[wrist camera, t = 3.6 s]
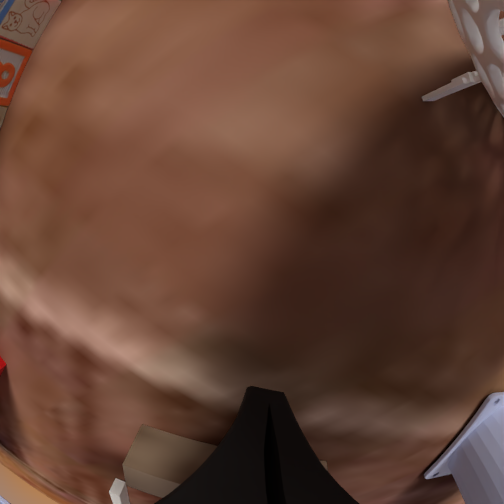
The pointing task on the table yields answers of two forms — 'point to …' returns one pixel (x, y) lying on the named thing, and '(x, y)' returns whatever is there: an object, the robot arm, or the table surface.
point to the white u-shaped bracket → (119, 492)
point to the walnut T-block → (164, 460)
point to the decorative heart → (479, 48)
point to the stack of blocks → (19, 40)
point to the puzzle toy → (2, 365)
